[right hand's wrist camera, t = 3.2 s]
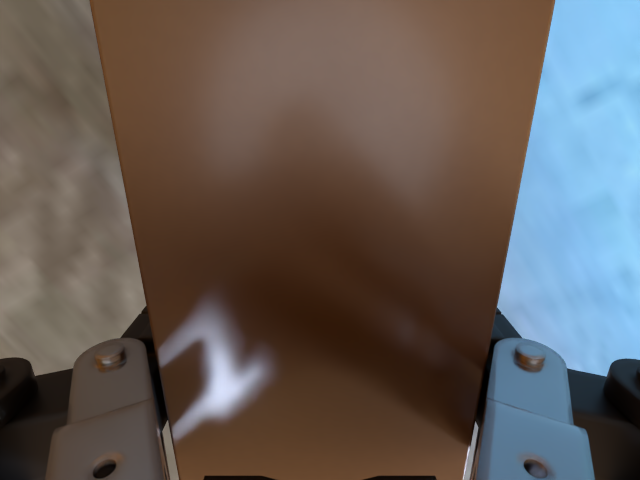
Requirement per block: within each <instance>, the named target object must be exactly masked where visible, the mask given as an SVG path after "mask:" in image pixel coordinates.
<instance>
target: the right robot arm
mask: <svg viewBox="0 0 640 480" xmlns="http://www.w3.org/2000/svg"><path fill="white" fill-rule="evenodd" d="M167 420H168V417H167V411H166V406H165V401H164V395H163V390H162V385H161V379H160V374H159V369H158V363H157V358H156V353H155V347H154V342H153V337H152V331H151V326H150V321H149V315H148V310H147V306H146V307H145V308H144V309H143V310H142V313H141V314H139V315H138V317H137V318H136V319H135V320H134V322H133V323H132V324H131V325H130V327H129V328H128V329H127V330H126V331H125V333H124V334H123V335H122V336H121V338H117V339H112V340H108V341H105V342H102V343H99V344H97V345H95V346H93V347H91V348H89V349H88V350H86V351H85V352H84V353H82V354H81V355H80V356H79V357H78V359H77V360H76V361H75V363H74V367H73V368H72V369H68V370H63V371H58V372H53V373H48V374H43V375H38V376H35V375H34V372H33V369H32V366H31V364H30V362H29V361H28V360H26V359H23V358H4V359H0V480H170V474H169V468H168V462H167V456H166V450H165V444H164V438H163V433H162V431H163V428H164V426H165V424H166V422H167ZM475 421H476V423H477V425H478V427H479V428H478V433H477V438H476V444H475V450H474V456H473V462H472V468H471V474H470V480H640V360H636V359H619V360H616V361H614V362H613V363H612V364H611V366H610V369H609V372H608V375H607V377H605V376H601V375H596V374H591V373H586V372H581V371H576V370H572V369H568V368H567V367H566V363H565V361H564V360H563V359H562V357H561V356H560V355H559V354H558V353H556V352H555V351H554V350H552V349H551V348H549V347H547V346H545V345H543V344H541V343H538V342H535V341H532V340H528V339H523V338H522V337H521V336H520V335H519V334H518V332H517V331H516V330H515V329H514V327H513V326H512V325H511V324H510V323H509V321H508V320H507V319H506V318H505V316H504V315H503V314H501V312H500V310H499V309H498V308H497V309H496V315H495V320H494V325H493V330H492V336H491V341H490V346H489V351H488V357H487V362H486V367H485V372H484V378H483V383H482V388H481V393H480V399H479V404H478V409H477V414H476V420H475ZM203 480H276V479H272V478H269V477H265V476H204V479H203ZM364 480H437V479H436V476H375V477H371V478H368V479H364Z"/></svg>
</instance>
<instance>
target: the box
mask: <svg viewBox="0 0 640 480" xmlns="http://www.w3.org/2000/svg"><path fill="white" fill-rule="evenodd" d="M554 4H555V0H90V5H91V11H92V16H93V21H94V27H95V32H96V37H97V43H98V48H99V53H100V59H101V64H102V69H103V75H104V80H105V86H106V91H107V96H108V102H109V107H110V112H111V118H112V123H113V128H114V134H115V139H116V144H117V150H118V155H119V160H120V166H121V171H122V176H123V182H124V187H125V192H126V198H127V203H128V208H129V214H130V219H131V224H132V230H133V235H134V240H135V246H136V251H137V256H138V262H139V267H140V272H141V278H142V283H143V288H144V294H145V299H146V305H147V310H148V315H149V321H150V326H151V331H152V337H153V342H154V347H155V353H156V358H157V363H158V369H159V374H160V379H161V385H162V390H163V395H164V401H165V406H166V411H167V417H168V422H169V427H170V433H171V438H172V443H173V449H174V454H175V459H176V465H177V470H178V475H179V480H203V479H204V476H265V477H269V478H272V479H276V480H364V479H368V478H371V477H375V476H436V479H437V480H464V478H465V472H466V467H467V462H468V456H469V451H470V446H471V441H472V435H473V430H474V425H475V420H476V414H477V409H478V404H479V399H480V393H481V388H482V383H483V378H484V372H485V367H486V362H487V357H488V351H489V346H490V341H491V336H492V330H493V325H494V320H495V315H496V309H497V304H498V299H499V293H500V288H501V283H502V278H503V272H504V267H505V262H506V257H507V251H508V246H509V241H510V236H511V230H512V225H513V220H514V215H515V209H516V204H517V199H518V194H519V188H520V183H521V178H522V173H523V167H524V162H525V157H526V151H527V146H528V141H529V136H530V130H531V125H532V120H533V115H534V109H535V104H536V99H537V94H538V88H539V83H540V78H541V73H542V67H543V62H544V57H545V52H546V46H547V41H548V36H549V31H550V25H551V20H552V15H553V9H554Z"/></svg>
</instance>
